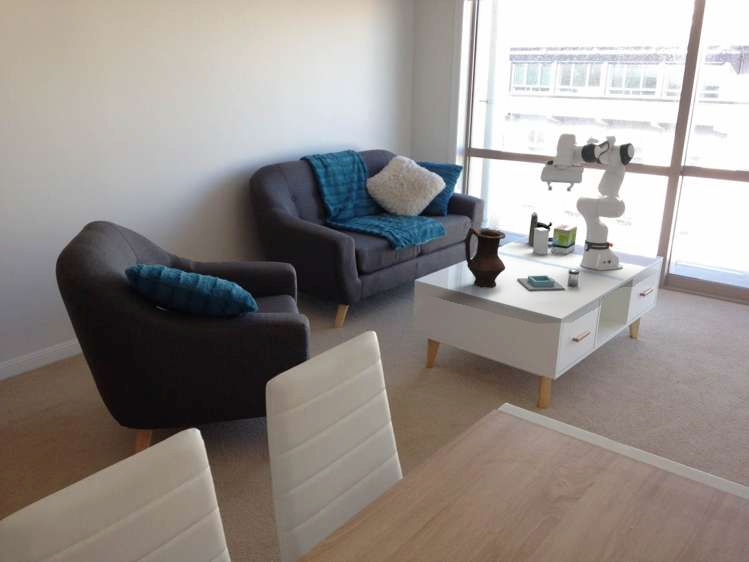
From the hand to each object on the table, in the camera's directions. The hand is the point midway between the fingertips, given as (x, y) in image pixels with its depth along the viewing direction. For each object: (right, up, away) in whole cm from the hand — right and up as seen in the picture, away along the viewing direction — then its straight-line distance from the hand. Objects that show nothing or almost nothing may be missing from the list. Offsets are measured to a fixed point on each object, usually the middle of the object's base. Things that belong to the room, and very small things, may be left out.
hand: (559, 190), depth 330 cm
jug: (-39, -48, -1) cm, 61 cm away
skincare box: (+6, -29, +62) cm, 69 cm away
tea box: (+21, -28, +67) cm, 76 cm away
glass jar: (+7, -48, -1) cm, 48 cm away
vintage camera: (+12, -23, +82) cm, 86 cm away
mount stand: (-10, -48, -1) cm, 49 cm away
